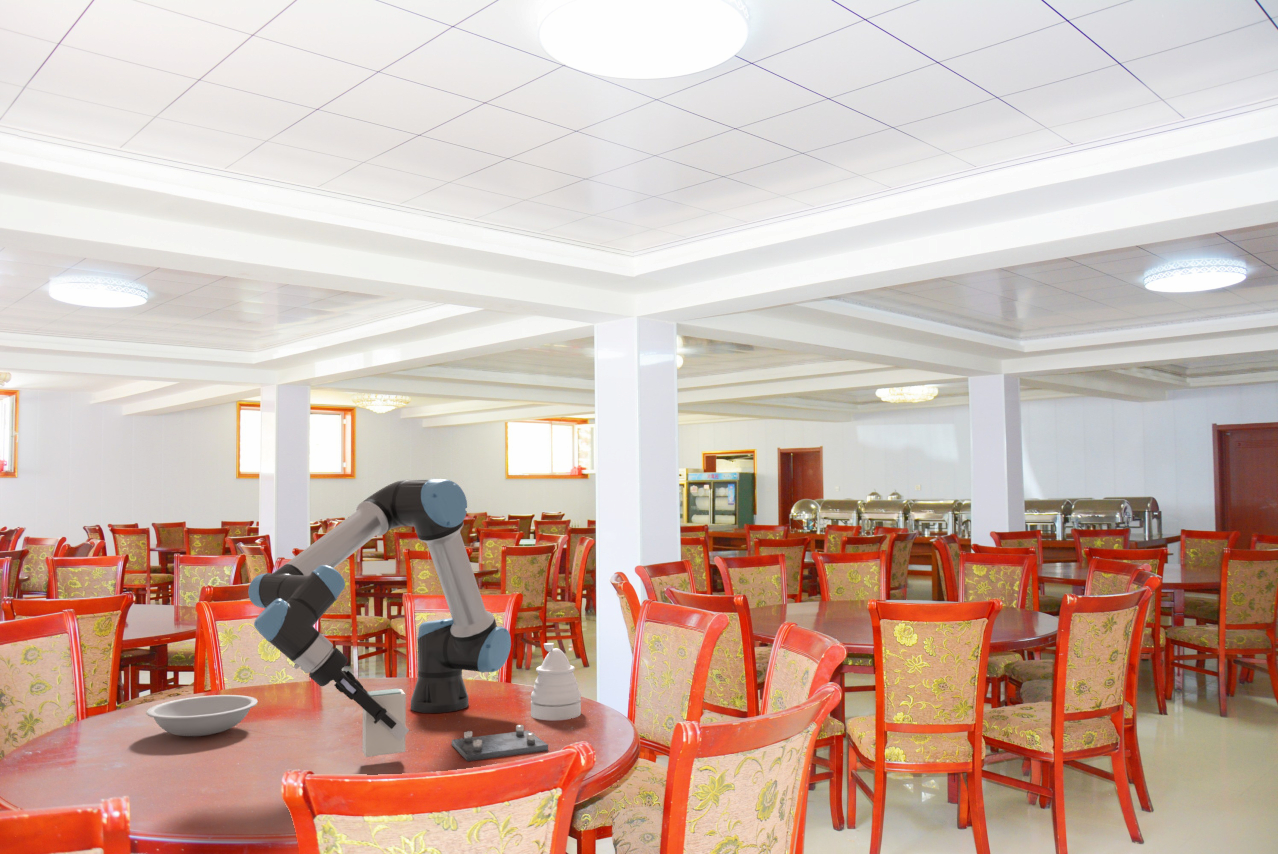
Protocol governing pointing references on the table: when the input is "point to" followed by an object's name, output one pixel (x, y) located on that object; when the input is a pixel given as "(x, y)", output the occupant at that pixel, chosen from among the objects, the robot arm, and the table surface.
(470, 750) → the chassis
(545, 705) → the honey pot
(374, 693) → the block
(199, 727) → the soup bowl
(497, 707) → the table surface
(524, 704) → the table surface
